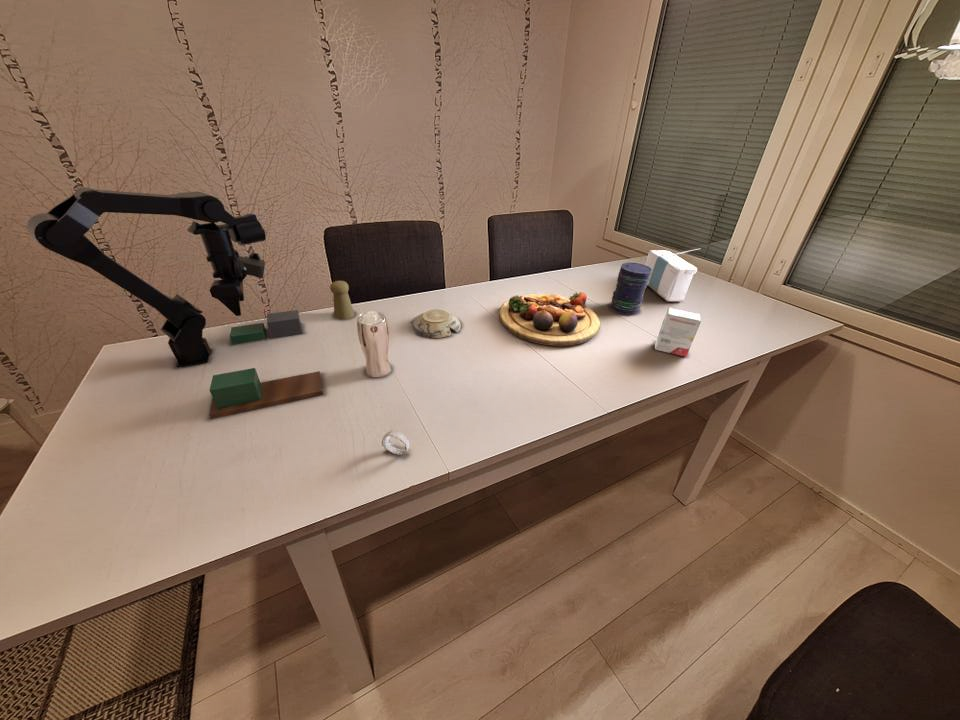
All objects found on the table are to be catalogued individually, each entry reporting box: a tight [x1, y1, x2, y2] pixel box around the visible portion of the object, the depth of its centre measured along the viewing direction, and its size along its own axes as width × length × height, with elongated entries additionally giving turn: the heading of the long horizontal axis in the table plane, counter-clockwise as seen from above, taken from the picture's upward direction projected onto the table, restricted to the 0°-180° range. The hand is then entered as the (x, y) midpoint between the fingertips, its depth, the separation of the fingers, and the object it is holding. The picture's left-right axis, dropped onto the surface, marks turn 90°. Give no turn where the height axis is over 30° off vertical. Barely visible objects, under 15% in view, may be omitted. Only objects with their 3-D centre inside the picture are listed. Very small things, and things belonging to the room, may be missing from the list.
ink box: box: [654, 307, 702, 357], centre depth 105 cm, size 9×5×12 cm, turn 65°
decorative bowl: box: [412, 308, 461, 339], centre depth 112 cm, size 15×4×15 cm
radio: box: [644, 247, 702, 303], centre depth 138 cm, size 21×8×20 cm, turn 6°
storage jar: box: [609, 262, 652, 316], centre depth 126 cm, size 10×10×15 cm
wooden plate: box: [498, 291, 601, 347], centre depth 117 cm, size 32×32×8 cm
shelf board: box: [208, 370, 324, 419], centre depth 83 cm, size 22×8×1 cm, turn 114°
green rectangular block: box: [229, 322, 267, 345], centre depth 102 cm, size 8×6×2 cm
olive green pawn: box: [329, 280, 355, 321], centre depth 113 cm, size 6×6×11 cm
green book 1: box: [208, 367, 259, 400], centre depth 79 cm, size 8×6×2 cm
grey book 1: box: [266, 309, 301, 332], centre depth 104 cm, size 8×6×2 cm
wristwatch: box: [381, 430, 411, 456], centre depth 70 cm, size 3×5×5 cm, turn 73°
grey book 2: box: [268, 319, 304, 339], centre depth 106 cm, size 8×6×2 cm
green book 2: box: [214, 376, 262, 409], centre depth 80 cm, size 8×6×2 cm
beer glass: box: [356, 310, 392, 378], centre depth 89 cm, size 7×7×15 cm
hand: (240, 307), depth 98 cm, fingers open, 9 cm apart
